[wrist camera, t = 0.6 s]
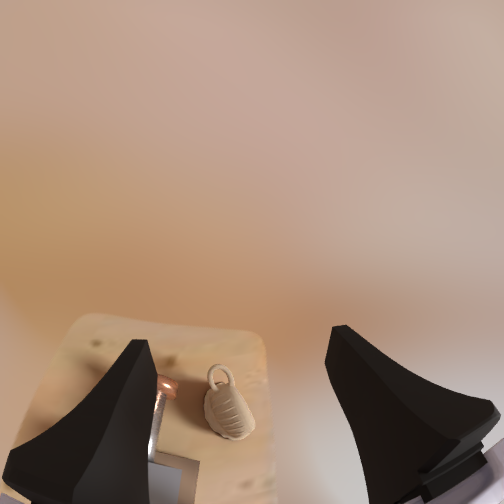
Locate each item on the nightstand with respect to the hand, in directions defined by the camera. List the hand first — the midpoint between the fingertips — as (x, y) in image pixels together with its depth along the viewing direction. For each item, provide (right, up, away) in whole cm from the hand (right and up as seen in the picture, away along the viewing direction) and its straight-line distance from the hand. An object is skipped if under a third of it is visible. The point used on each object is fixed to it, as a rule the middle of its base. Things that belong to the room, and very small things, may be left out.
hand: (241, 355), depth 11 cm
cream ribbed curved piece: (-3, -13, +17) cm, 22 cm away
